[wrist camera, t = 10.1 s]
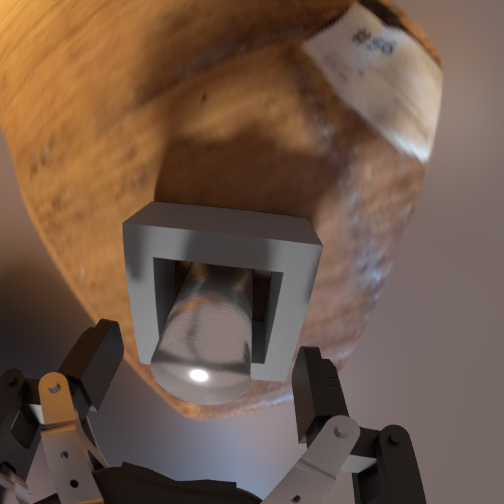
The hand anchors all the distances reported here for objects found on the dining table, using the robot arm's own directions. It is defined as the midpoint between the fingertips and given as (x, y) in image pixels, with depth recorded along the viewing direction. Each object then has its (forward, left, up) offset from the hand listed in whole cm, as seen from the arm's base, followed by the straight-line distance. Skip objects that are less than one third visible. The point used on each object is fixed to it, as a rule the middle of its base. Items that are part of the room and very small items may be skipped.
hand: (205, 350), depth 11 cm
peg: (0, 0, -7) cm, 7 cm away
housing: (0, 0, -7) cm, 7 cm away
